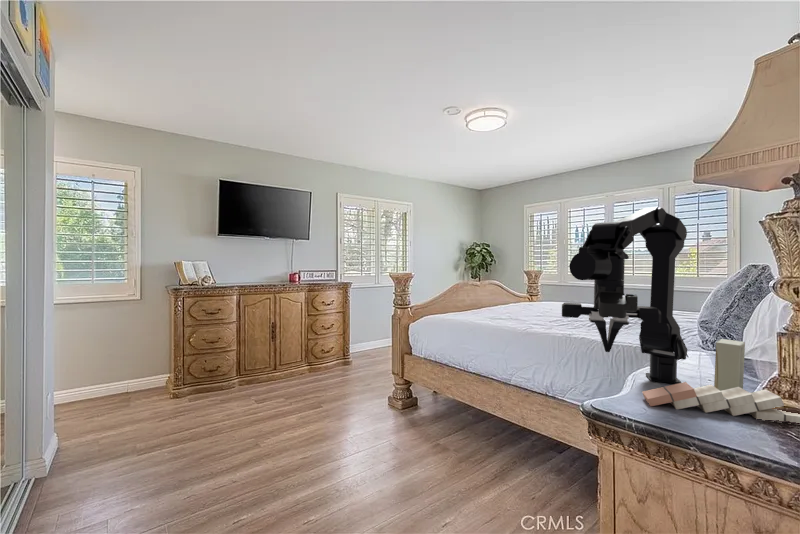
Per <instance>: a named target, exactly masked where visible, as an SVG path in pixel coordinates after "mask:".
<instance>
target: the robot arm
mask: <svg viewBox="0 0 800 534" xmlns="http://www.w3.org/2000/svg"><path fill="white" fill-rule="evenodd" d="M686 227H687V226H685V224H684V223H683V222H682V220H681V219H680V218H679V217H677V216H674V215H672V214H670V213H668V212H667V211H666V209H664V208H663V207H659V206H655V207H654V206H653V207H643V208H641V209H639V210H638V211H636V212H634V213H631V214H630V215H627V216H625V217H622V218H620V219H618V220H616V221H603V222H597V223H594V224H593V225H592V227H591V229H590V231H589V233H588V235H587V237H586V239H585V240H584V243H583V245H582V246H579V247H578V253H575V255H574V256H573V257H572V258H571V259H570V262H569V264H568V265H569V266H568V268H569V271H570V274H571V275H572V277H573V278H574V279H577V280H578V281H579V280H580V281H594V283H593V284H594V287H593V288H594V289H593V294H594V295H593V306H582V303H581V302H563V303H562V304H561V317H563V318H572V319H573V318H574V319H575V318H576V319H578V318H580V316H581V315H582V316H583V315H585V316H589V317H588V321H589V322H590V323H592V324H593V323H594V325H595V327H596V328H597V331H598V333H599V337H600V339H601V343H602V345H603V348H604V349H603V350H604V352H605V353H610V351H611V349H612V347H613V345H614V343H615V340H616V337H617V335H618V334H619V332H620V331H621V329H622V328H623V326H629V324H630V322H629V321H628V320H630V318H634V319H639V320H641V322H640V331H639V337H638V339H639V344H640V351H641V354H648V355H649V372H645V375H646V377H647V378H648V380H649V381H650V382H651V381H652V382H657V383H669V384H678V383H682V381H681V380H680V379H679V378H678V377H677V374H678V372H677V370H678V369H677V368H678V367H677V366H678V360H686V359H687V355H688V348H687V346H686V343H685V342H684V339H683V338H682V336H681V327H680V325H679V323H678V322H677V320H676V319H675V318H674V314H673V313H674V293H675V292H674V291H675V272H676V258H677V257H678V256H679V254H680V253H681V251H683V249H684V247H685V240H686V239H687V236H688V235H687V234H688V230H687V228H686ZM637 234H639V235H641V237H642V238H643V239H644V240H645V248H646V249H647V251H648V252H649V254H650V255H651V259H652V260H651V261H652V263H651V281H650V282H651V283H650V285H651V286H650V303H649V304H650V305H649V306H644V305H643V306H642V305H638V295H637V294H634V293H626V294H625V264H626V263H625V260H629V258H630V257H629V255H628V254H627V253H626V252H625V251H624V249H626V248H627V247H628V246H630V245H631V244H632V242H634V236H636V235H637ZM609 317H610V319H609V323H608V325H609V326H608V334H607V321H606V320H605V319H604V318H609Z"/></svg>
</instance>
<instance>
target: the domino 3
mask: <svg viewBox="0 0 800 534" xmlns="http://www.w3.org/2000/svg"><path fill="white" fill-rule="evenodd" d="M748 415H750V416H751V415H752V416H751V417H752V418H754V419H755V418H756V420H757V419H762V420H761V421H765V420H779V421H790V422H796V423H800V414H798V413H791V412H786V411H782V410H777V409H772V408H770V409H765V410H760V411H755V412H750V413H749V414H748Z"/></svg>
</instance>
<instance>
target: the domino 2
mask: <svg viewBox="0 0 800 534" xmlns="http://www.w3.org/2000/svg"><path fill="white" fill-rule="evenodd" d="M721 392H722V394H723V397H724V399H725V400H721V401H716V402H711V403H707V404H702V405H697V407H698V408H699V409H700V410H702V411H703V412H704V413H711V412H716V411H720V410H721V411H722V410H724V409H726V408H731V407H736V406H740V405H745V404H750V403H754V402H755V400H754V398H753V396H752V394H751V393H752V392H750V391H748V390H746V389H744V388H743V389H742V388H740V387H735V388H731V389H726V390H722V391H721Z"/></svg>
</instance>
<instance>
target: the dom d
mask: <svg viewBox="0 0 800 534" xmlns="http://www.w3.org/2000/svg"><path fill="white" fill-rule="evenodd" d="M750 393H751V394H752V396H753V398H754V400H755V402H754V403H750V404H745V405H740V406H736V407H731V408H726V409H723V410H724V411H725V412H727V413H728V414H730V415H731V416H732V417H736V416H740V415H744V414H748V413H750V412H755V411H760V410H765V409H770V408H775V407H784V406H785V403H784V401H783V398H782V397H781V396H780V395H778V394H776V393H774V392H771V391H769V390H768V389H762V390H757V391H753V392H750Z"/></svg>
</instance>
